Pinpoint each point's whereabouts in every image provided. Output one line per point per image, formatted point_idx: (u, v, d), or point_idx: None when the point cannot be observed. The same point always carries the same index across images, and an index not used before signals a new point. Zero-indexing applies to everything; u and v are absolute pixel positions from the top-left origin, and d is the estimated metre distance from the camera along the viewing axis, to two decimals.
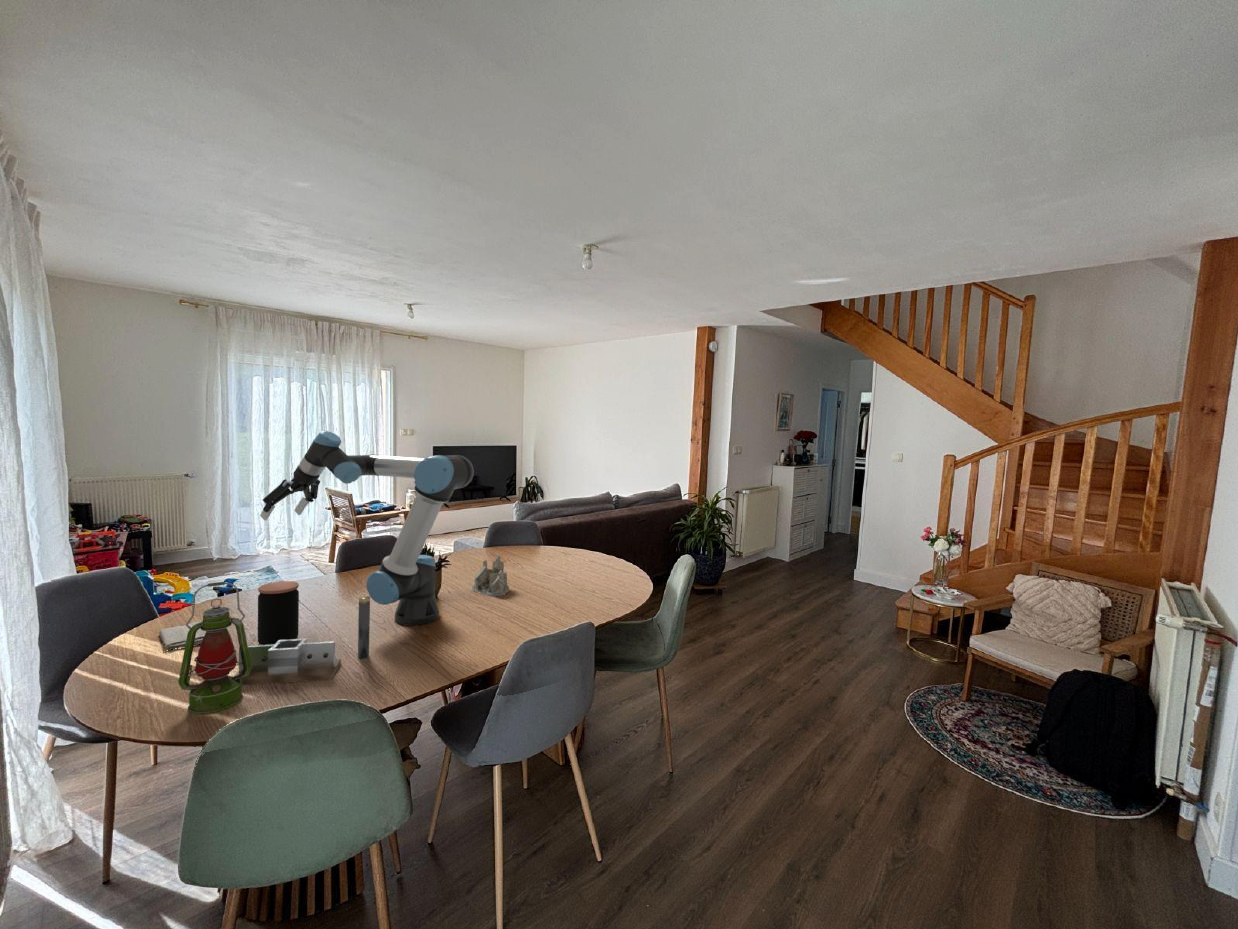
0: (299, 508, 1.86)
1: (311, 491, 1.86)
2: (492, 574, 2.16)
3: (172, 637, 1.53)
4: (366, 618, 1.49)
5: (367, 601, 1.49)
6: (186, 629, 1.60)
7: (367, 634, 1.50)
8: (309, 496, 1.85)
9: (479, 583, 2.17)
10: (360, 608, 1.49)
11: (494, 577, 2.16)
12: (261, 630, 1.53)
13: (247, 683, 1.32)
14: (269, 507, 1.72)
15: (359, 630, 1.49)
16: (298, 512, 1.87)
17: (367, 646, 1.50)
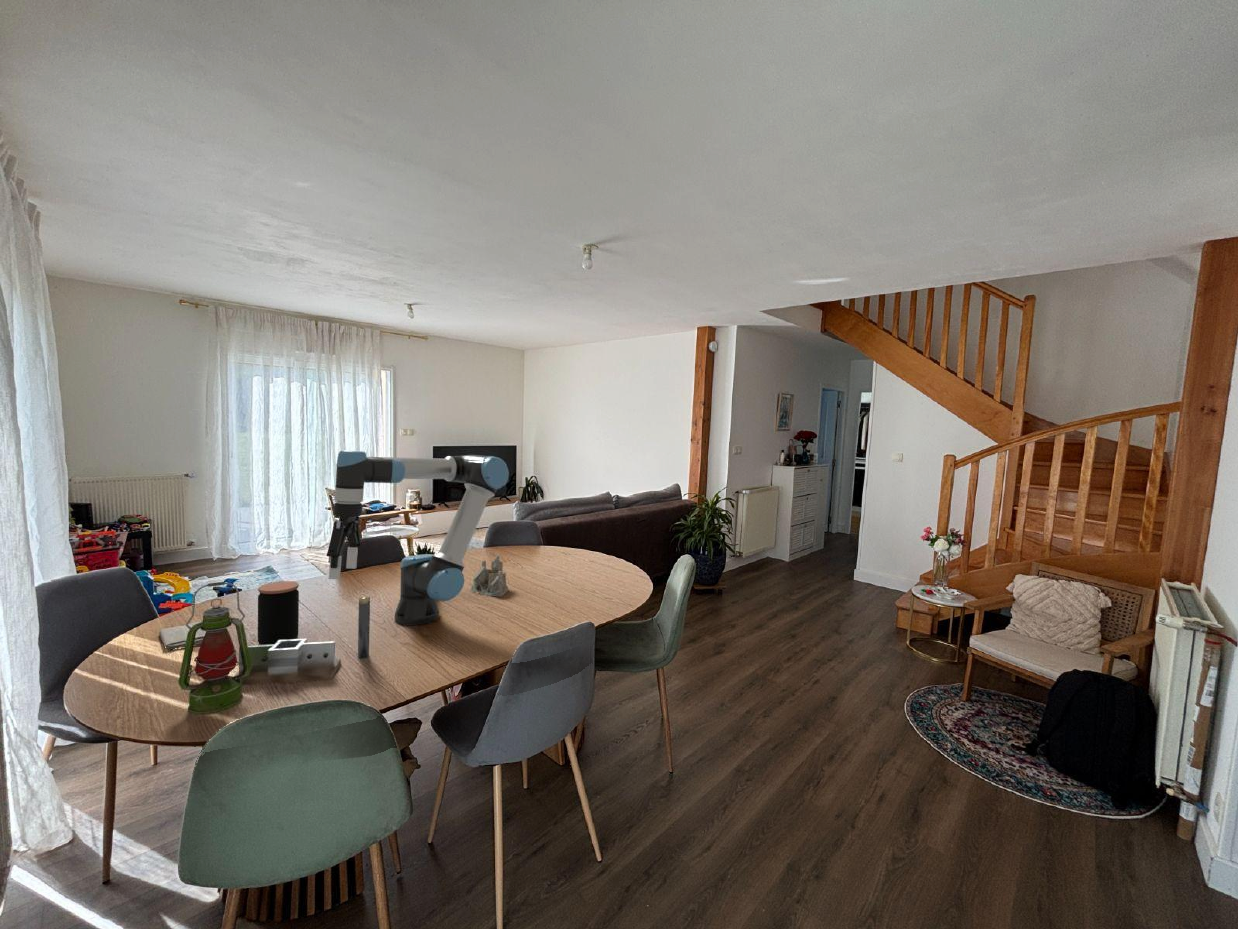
0: (351, 561, 1.55)
1: None
2: (491, 574, 2.15)
3: (172, 637, 1.53)
4: (366, 618, 1.49)
5: (367, 601, 1.49)
6: (186, 629, 1.60)
7: (367, 634, 1.50)
8: (356, 539, 1.55)
9: (478, 583, 2.17)
10: (360, 608, 1.49)
11: (493, 577, 2.15)
12: (261, 630, 1.53)
13: (247, 683, 1.32)
14: (337, 560, 1.41)
15: (359, 630, 1.49)
16: (353, 566, 1.55)
17: (367, 646, 1.50)
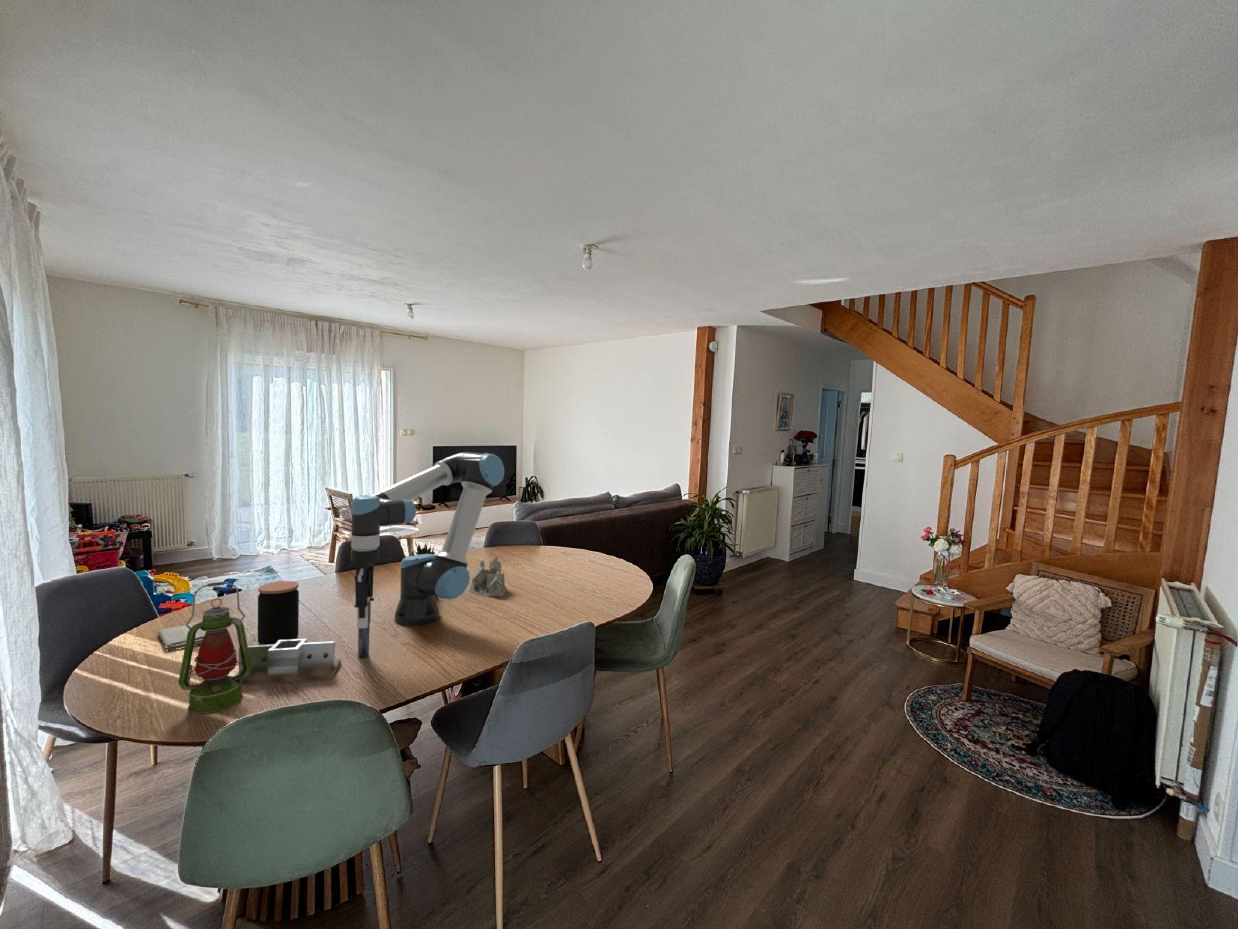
0: None
1: None
2: (489, 575, 2.15)
3: (172, 637, 1.53)
4: None
5: (367, 601, 1.49)
6: (185, 629, 1.59)
7: (367, 634, 1.50)
8: (370, 591, 1.52)
9: (476, 584, 2.16)
10: None
11: (491, 578, 2.15)
12: (261, 630, 1.53)
13: (247, 683, 1.32)
14: (364, 610, 1.48)
15: (359, 630, 1.49)
16: None
17: (367, 646, 1.50)
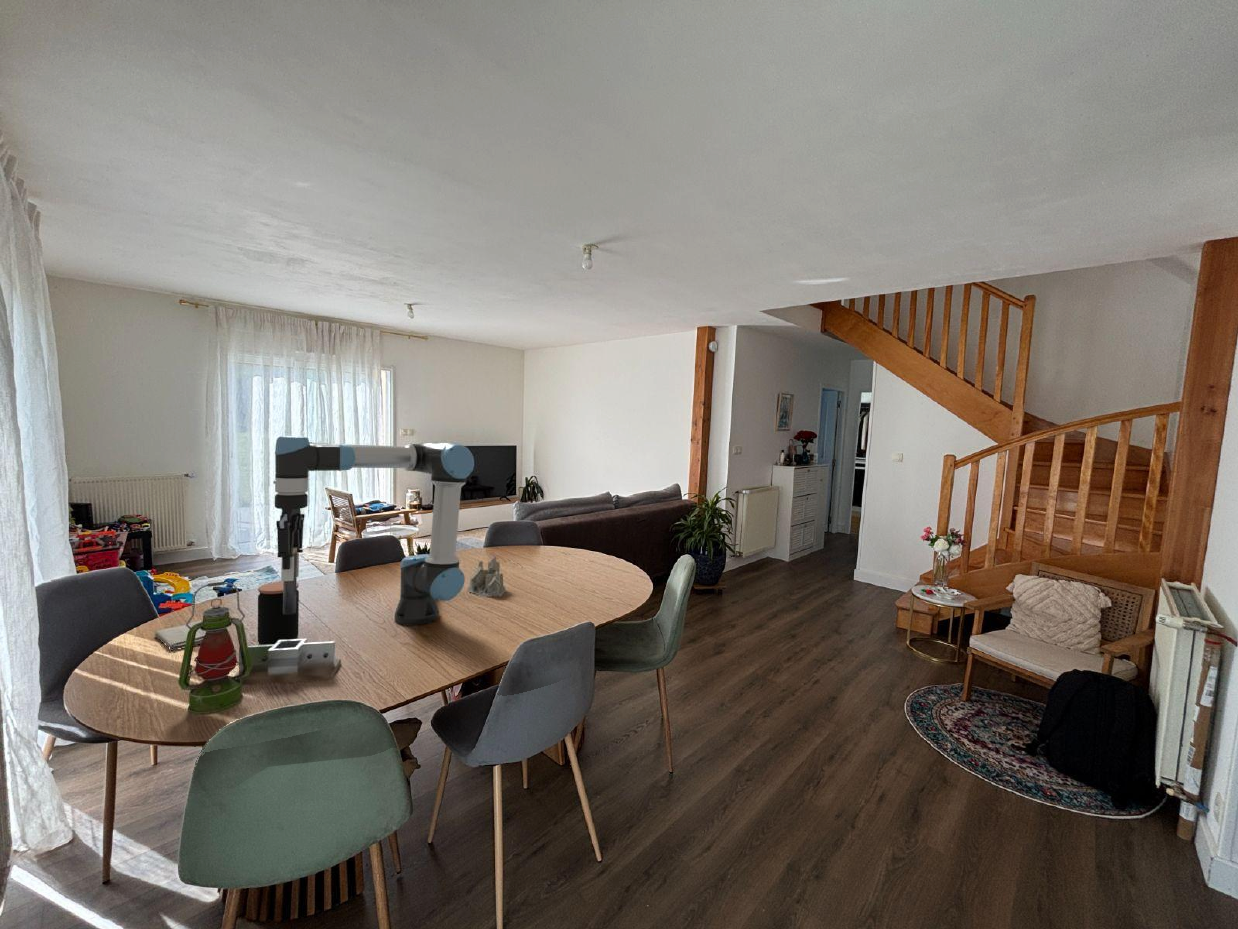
0: None
1: None
2: (488, 575, 2.14)
3: (174, 637, 1.53)
4: None
5: (293, 551, 1.36)
6: (185, 629, 1.59)
7: (293, 588, 1.36)
8: (298, 541, 1.39)
9: (475, 584, 2.15)
10: None
11: (490, 578, 2.14)
12: (261, 630, 1.53)
13: (247, 683, 1.32)
14: (289, 561, 1.34)
15: (284, 583, 1.36)
16: None
17: (293, 601, 1.37)
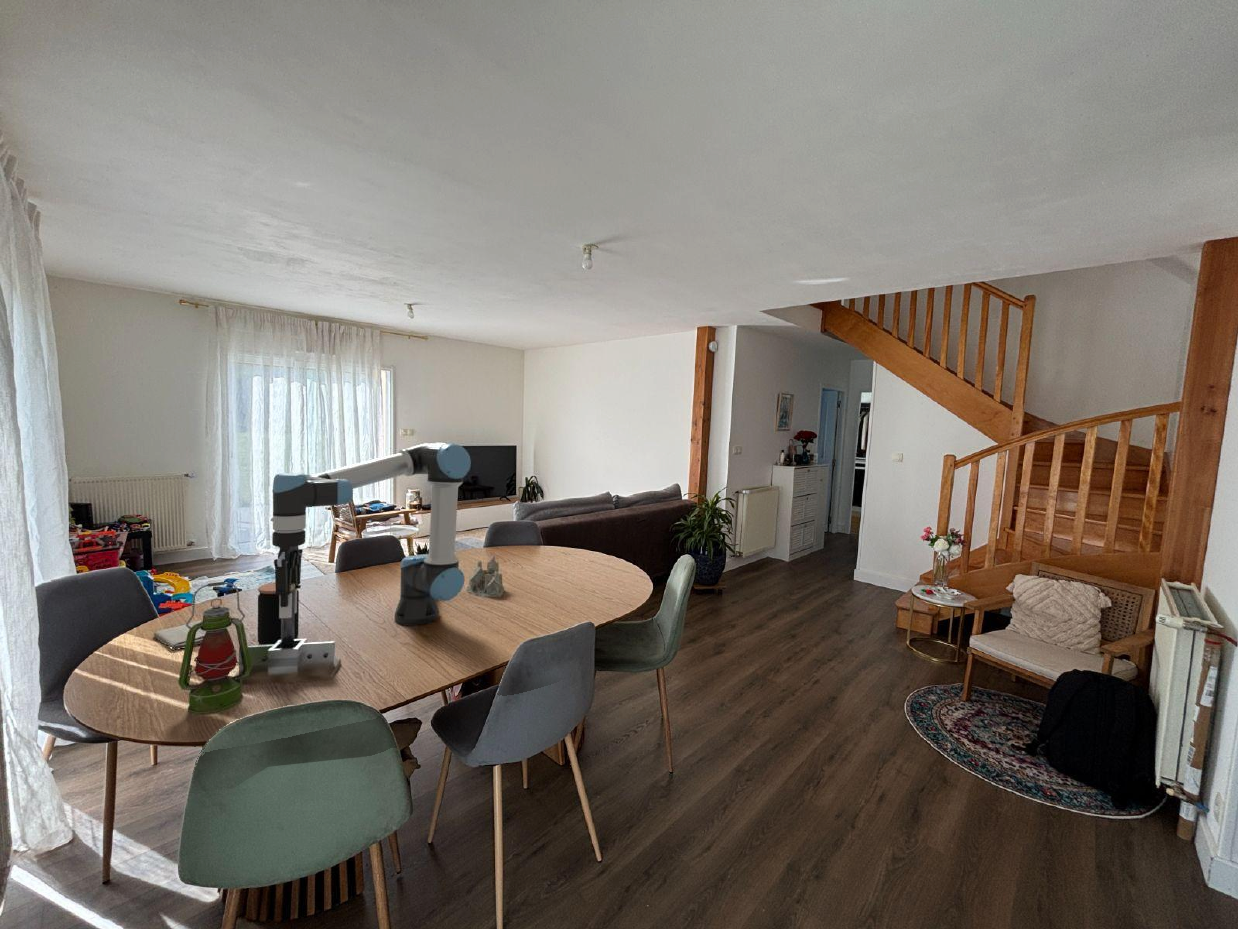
0: None
1: None
2: (487, 575, 2.14)
3: (175, 637, 1.53)
4: None
5: (291, 588, 1.36)
6: (184, 629, 1.59)
7: (291, 624, 1.37)
8: (296, 578, 1.39)
9: (474, 584, 2.15)
10: None
11: (489, 578, 2.14)
12: (261, 630, 1.53)
13: (247, 683, 1.32)
14: (287, 598, 1.34)
15: (282, 620, 1.36)
16: None
17: (291, 638, 1.37)
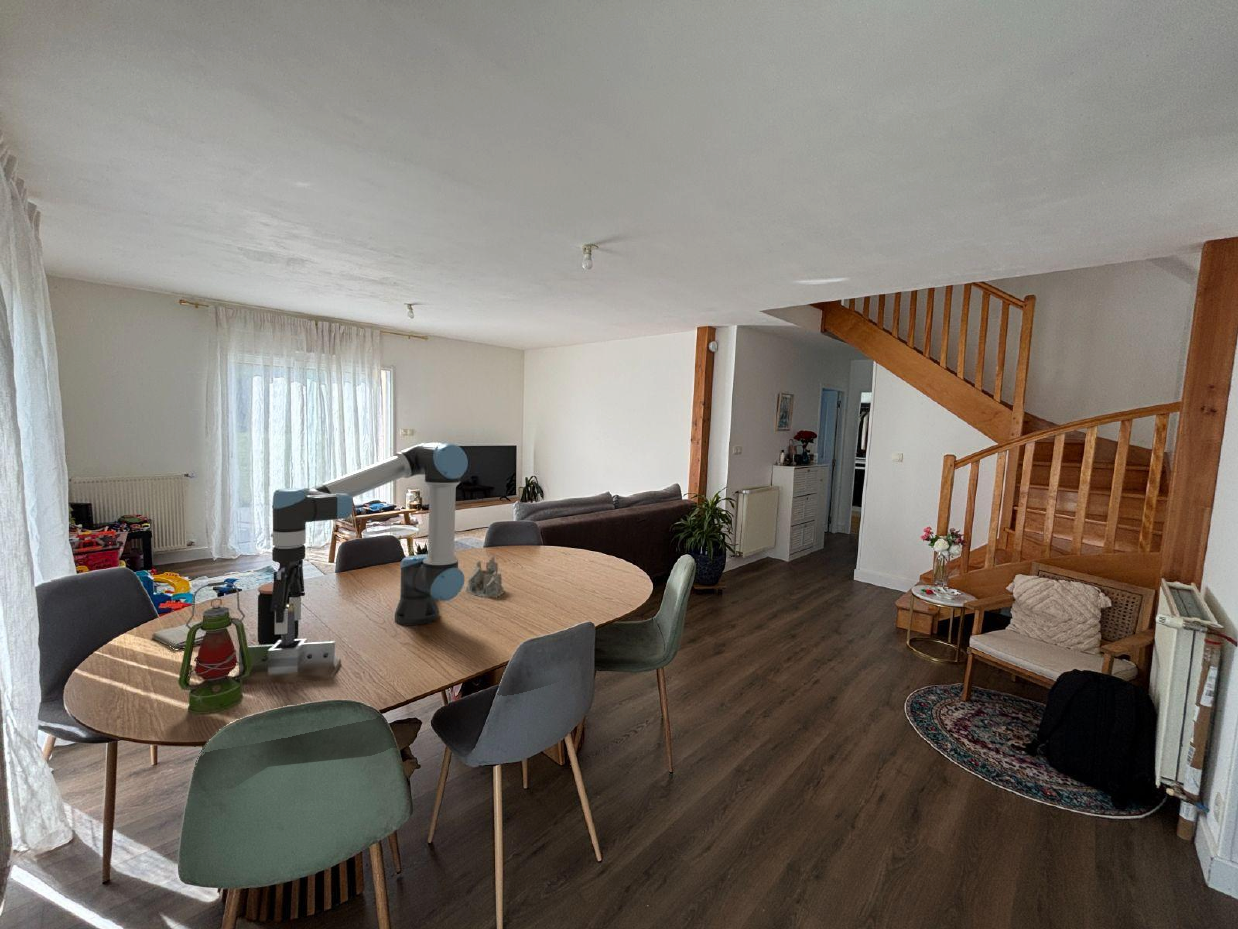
0: (295, 612, 1.42)
1: None
2: (486, 575, 2.14)
3: (176, 637, 1.53)
4: (289, 628, 1.36)
5: (290, 609, 1.36)
6: (184, 630, 1.59)
7: (291, 645, 1.37)
8: (299, 587, 1.42)
9: (473, 584, 2.15)
10: None
11: (488, 578, 2.13)
12: (261, 630, 1.53)
13: (247, 683, 1.32)
14: (282, 614, 1.32)
15: (282, 641, 1.36)
16: (297, 617, 1.42)
17: None
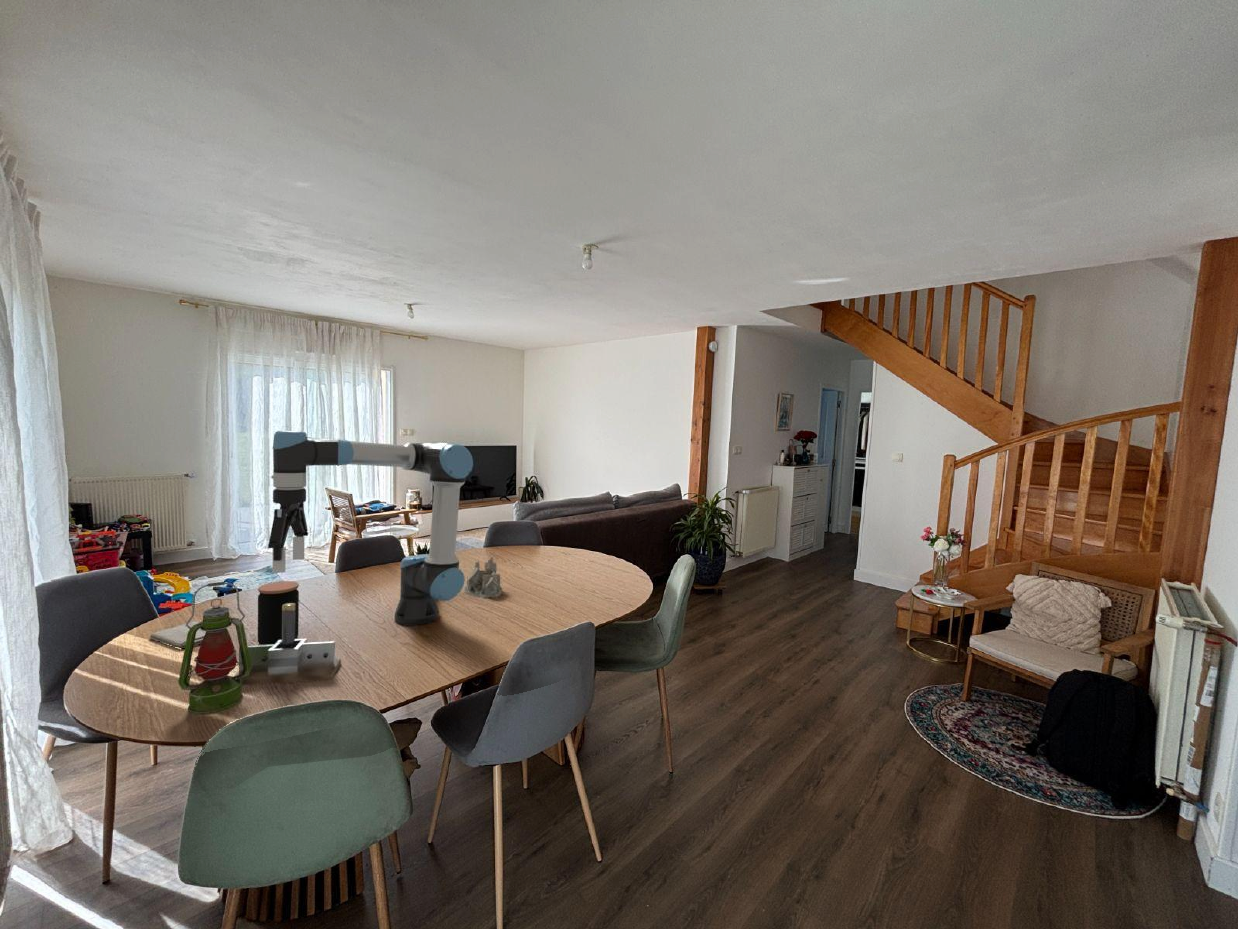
0: (298, 551, 1.43)
1: None
2: (485, 576, 2.13)
3: (178, 637, 1.53)
4: (290, 628, 1.36)
5: (291, 609, 1.36)
6: (184, 630, 1.59)
7: (292, 645, 1.37)
8: (302, 528, 1.42)
9: (472, 585, 2.14)
10: (283, 616, 1.36)
11: (487, 579, 2.13)
12: (261, 630, 1.53)
13: (247, 683, 1.32)
14: (280, 552, 1.29)
15: (282, 640, 1.36)
16: (300, 557, 1.43)
17: None
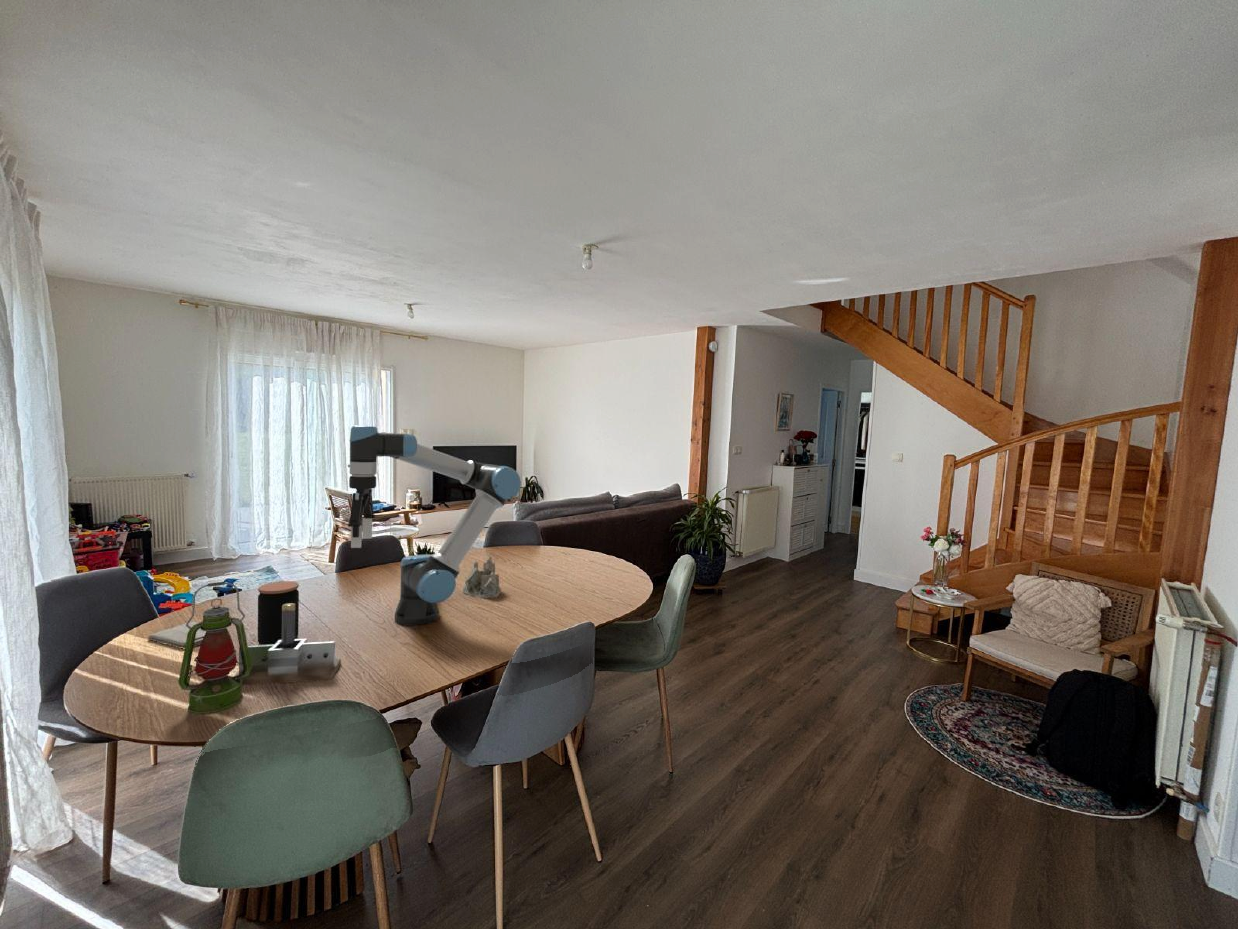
0: (367, 531, 1.63)
1: None
2: (484, 576, 2.13)
3: (179, 637, 1.54)
4: (290, 628, 1.36)
5: (291, 609, 1.36)
6: (183, 630, 1.59)
7: (292, 645, 1.37)
8: (371, 511, 1.63)
9: (470, 585, 2.13)
10: (283, 616, 1.36)
11: (486, 579, 2.12)
12: (261, 630, 1.53)
13: (247, 683, 1.32)
14: (358, 529, 1.50)
15: (282, 640, 1.36)
16: (369, 536, 1.64)
17: None
